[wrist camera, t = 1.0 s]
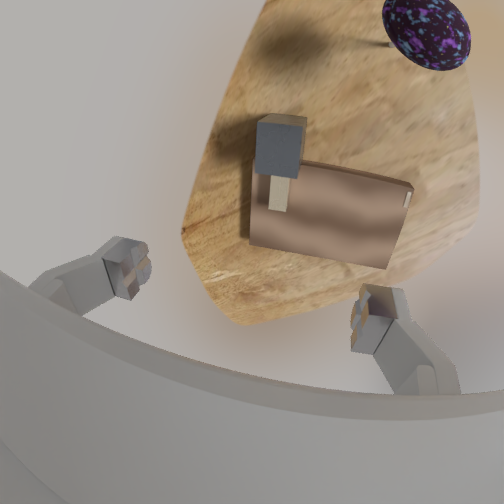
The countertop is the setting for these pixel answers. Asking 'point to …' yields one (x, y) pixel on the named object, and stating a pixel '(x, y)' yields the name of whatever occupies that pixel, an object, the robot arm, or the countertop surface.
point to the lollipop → (428, 32)
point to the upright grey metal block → (280, 154)
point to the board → (332, 214)
